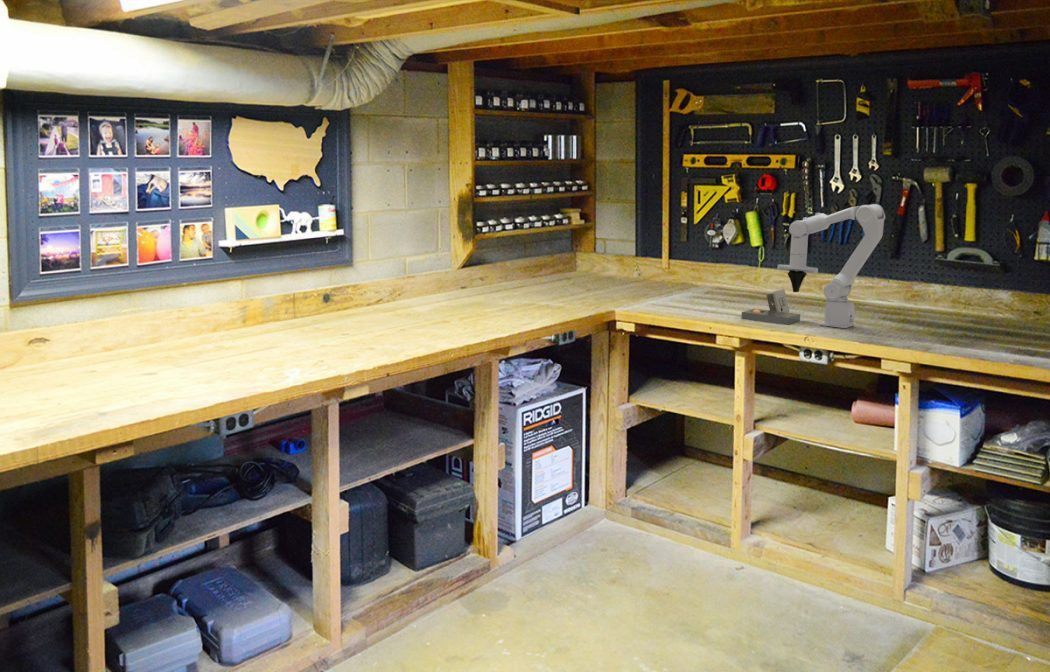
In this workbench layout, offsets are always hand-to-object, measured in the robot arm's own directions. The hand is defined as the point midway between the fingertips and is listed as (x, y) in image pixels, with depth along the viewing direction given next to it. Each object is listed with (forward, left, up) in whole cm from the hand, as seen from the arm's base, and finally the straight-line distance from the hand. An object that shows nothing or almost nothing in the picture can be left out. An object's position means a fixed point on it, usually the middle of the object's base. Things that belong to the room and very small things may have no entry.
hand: (795, 291), depth 342 cm
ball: (+12, +5, -9) cm, 16 cm away
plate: (+7, +5, -10) cm, 13 cm away
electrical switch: (+11, -9, -11) cm, 18 cm away
